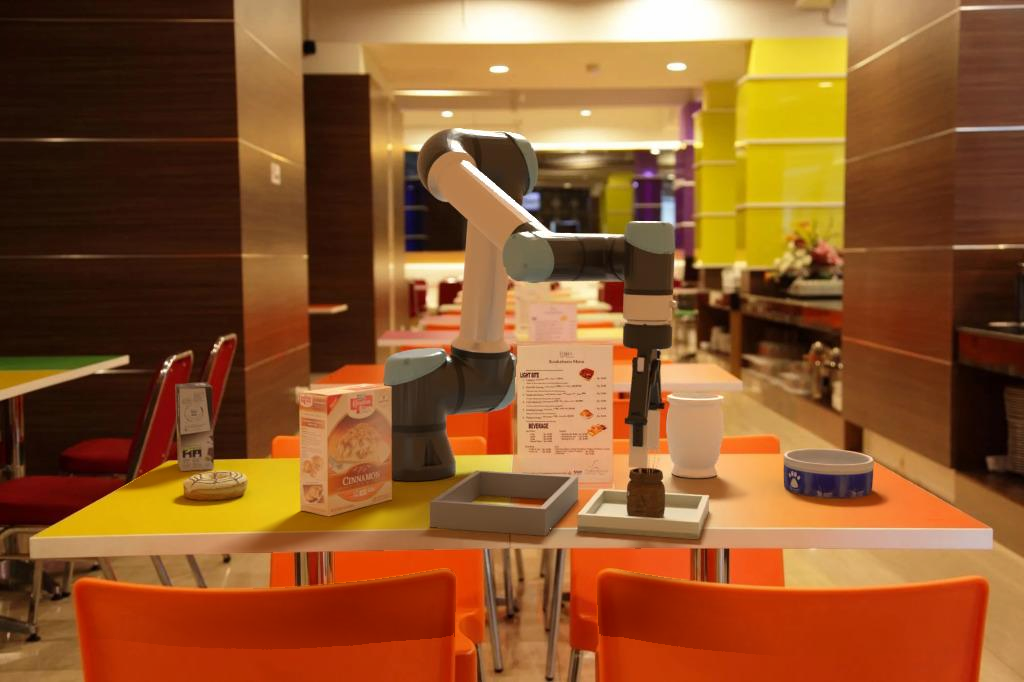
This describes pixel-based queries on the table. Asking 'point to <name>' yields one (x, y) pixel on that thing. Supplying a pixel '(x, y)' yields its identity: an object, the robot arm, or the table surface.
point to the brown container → (646, 492)
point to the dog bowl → (828, 473)
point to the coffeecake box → (345, 448)
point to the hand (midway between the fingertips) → (644, 458)
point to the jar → (694, 433)
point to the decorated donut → (215, 485)
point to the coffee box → (194, 426)
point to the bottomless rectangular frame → (463, 515)
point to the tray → (612, 517)
